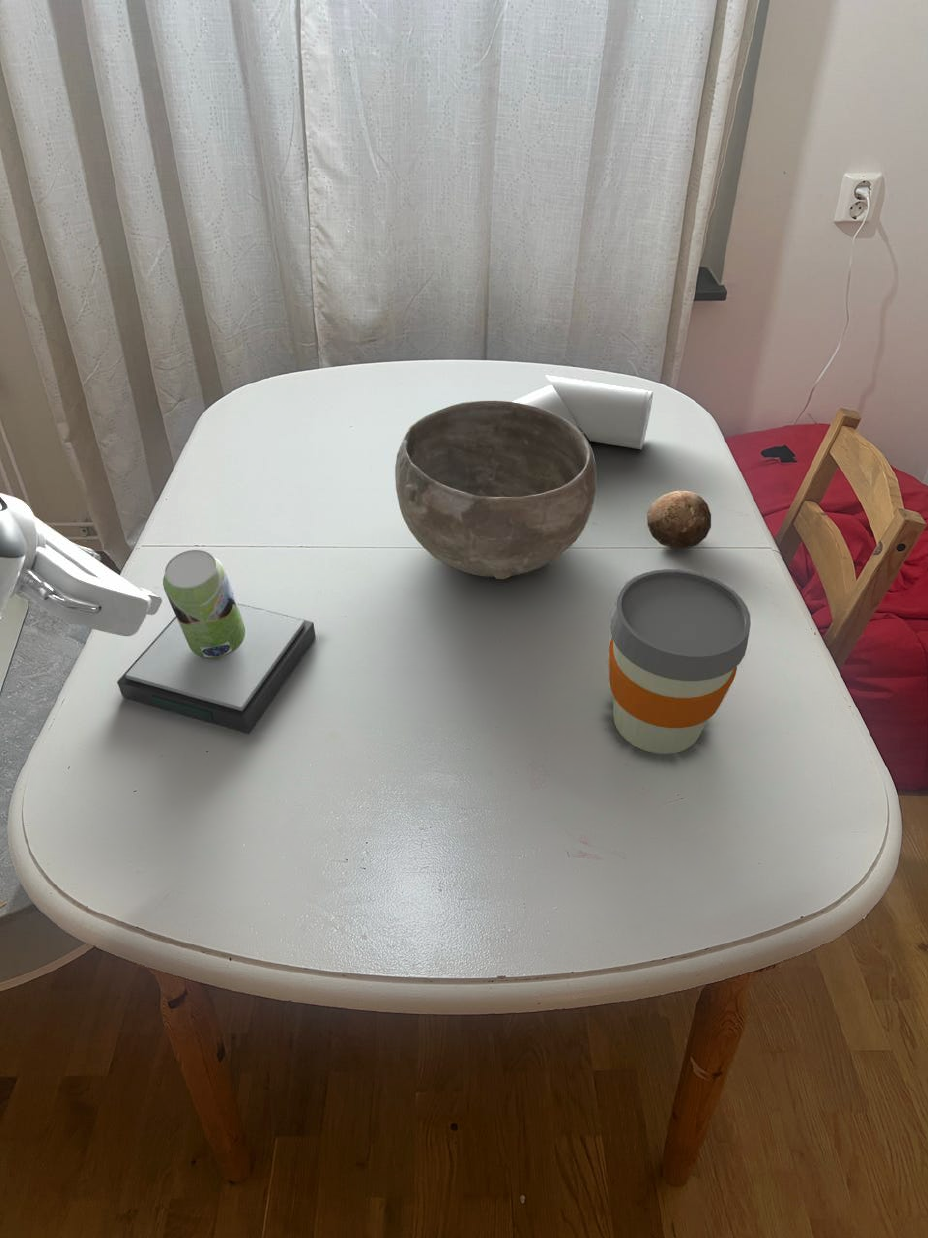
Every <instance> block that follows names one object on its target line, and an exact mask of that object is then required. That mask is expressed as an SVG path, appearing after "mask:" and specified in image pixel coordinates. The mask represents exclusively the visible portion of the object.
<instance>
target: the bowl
mask: <svg viewBox="0 0 928 1238" xmlns="http://www.w3.org/2000/svg"><path fill="white" fill-rule="evenodd" d="M395 459H396V461H395V466H394V474H395V475H394V479H395V480H394V481H395V490H396V495H397V501H398V505H399V510H400V513H401V515H402V518H403V520H404V522H405V525H406V526H407V528H408V530H409V532H410V533H411V534H412V536H413V537H414V538H415V540H416V541H417V542H418V543H419V544H420V545H421V546H422V547H423V549H425V550H426V552H428V553H429V554H430V555H431V556H433V557H434V558H435V559H437V560H438V561H440V562H442V563H443V564H445V565H446V566H449V567H450V568H452V569H456V570H459V571H461V572H464V573H467V574H470V575H473V576H479V577H491V578H493V577H494V578H495V579H498V580H506V579H508V578H510V577H512V576H517V575H518V576H519V575H522V574H527V573H529V572H533V571H535V570H539V569H540V568H543V567H545V566H546V565H548V564H550V563H553V562H554V561H555V560H556V559H558V558H559V557H560V556H561V555H562V554H563V553H564V552H565V551H566V550H568V549H569V548H570V547H571V546H572V545H573V544H574V543H575V542H576V541H577V540H578V538H579V537H580V536H581V534H582V532H583V531H584V530H585V528H586V525H587V524H588V520H589V518H590V515H591V513H592V509H593V505H594V502H595V496H596V489H597V464H596V463H597V462H596V459H595V455H594V452H593V448H592V446H591V444H590V443H589V440H588V438H587V437H586V435H585V434H584V433H581V432H580V431H579V430H578V429H577V428H576V427H575V426H574V425H572V424H571V423H570V422H568V421H567V420H565V419H563V418H562V417H560V416H558V415H556V414H554V413H552V412H550V411H547V410H543V409H540V408H537V407H533V406H530V405H525V404H521V403H516V402H513V401H506V400H474V401H465V402H460V403H457V404H453V405H450V406H447V407H445V408H441V409H439V410H436V411H434V412H432V413H430V414H427V415H425V416H423V417H422V418H420V419H418V420H417V421H415V422H414V423H413V424H411V426H410V427H409V428H408V429H407V431H406V433H405V434H404V436H403V439H402V441H401V443H400V446H399V448H398V451H397V454H396V458H395Z"/></svg>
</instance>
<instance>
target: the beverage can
mask: <svg viewBox="0 0 928 1238" xmlns="http://www.w3.org/2000/svg"><path fill="white" fill-rule="evenodd" d="M162 586H163V590H164V592H165V594H166V597H167V599H168V601H169V604H170V606H171V608H172V611H173V612H174V615H175V616H176V617H177V620H178V622H179V624H180V627H181V629H182V631H183V633H184V636H185V638H186V640H187V643H188V645H189V647H190V649H191V650H192V651H193V652H194V653H195V654H196V655H198V656H200V657H203V658H209V659H213V658H220V657H224V656H226V655H229V654H230V653H232V652H234V651H235V650H236V649H237V648H238V647H239V646H240V645H241V643H242V642H243V640H244V637H245V627H244V624H243V621H242V618H241V615H240V612H239V609H238V606H237V603H238V602H237V600H236V597H235V594H234V591H233V588H232V586H231V583H230V580H229V577H228V574H227V572H226V568H225V566H224V565H223V563H222V562H221V561H220V560H219V559H217V558H216V557H214V556H213V554H211V553H210V552H208V551H206V550H202V549H190V550H186V551H182V552H180V553H177V554H176V555H175V556H173V557H172V558H171V559H170V560H169V561H168V562H167V564H166V566H165V569H164V575H163V578H162Z"/></svg>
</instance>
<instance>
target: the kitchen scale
mask: <svg viewBox="0 0 928 1238" xmlns="http://www.w3.org/2000/svg"><path fill="white" fill-rule="evenodd" d="M236 603H237V606H238V609H239V612H240V615H241V618H242V621H243V624H244V627H245V637H244V640H243V642H242V643H241V645H240V646H239V647H238V648H237V649H236V650H235V651H234V652H232V653H230V654H229V655H226V656H224V657H220V658H213V659H209V658H203V657H200V656H198V655H196V654H195V653H194V652H193V651H192V650H191V649H190V647H189V645H188V643H187V640H186V638H185V636H184V633H183V631H182V629H181V627H180V624H179V622H178V620H177V617H176V615H175V616H174V617H173V618H172V619H171V621H170V622H169V623H168V624H167V625H166V627H164V628H163V630H162V631H161V632H160V633H159V634H158V635H157V636H156V637H155V638H154V640H153V641H152V642H151V643H150V644H149V645H148V647H147V648H145V650H144V651H143V652H142V653H141V654H140V656H138V658H137V659H136V660H135V661H134V662H133V663H132V664H131V665H130V667H128V669H127V670H126V671H125V672H124V673H123V674H122V676H120V678H119V679H118V680H117V681H116V683H117V686H118V689H119V691H120V694H121V697H122V698H123V699H126V700H130V701H134V702H137V703H140V704H144V705H148V706H151V707H154V708H158V709H161V710H164V711H168V712H171V713H175V714H178V715H183V716H186V717H188V718H192V719H196V720H199V721H202V722H206V723H209V724H214V725H216V726H220V727H224V728H228V729H230V730H234V731H238V732H241V733H245V734H248V735H249V734H251V732H252V731H253V729H254V727H255V726H256V725H257V723H258V722H259V720H260V719H261V718H262V716H263V715H264V713H265V712H266V710H267V709H268V707H269V706H270V705H271V703H273V702H272V701H273V700H274V699H275V698H276V696H277V694H278V693H279V692H280V690H281V689H282V687H283V686H284V684H285V683H286V681H288V679H289V677H290V676H291V674H292V673H293V671H294V670H295V669H296V667H297V666H298V665H299V663H300V661H301V660H302V658H303V657H304V656H305V654H306V653H307V652H308V650H309V648H310V647H311V645H312V644H313V643H314V641H315V640H316V638H317V636H316V630H315V629H316V628H315V624H314V621H312V620H306V619H304V618H303V619H302V618H298V617H294V616H291V615H287V614H283V613H278V612H275V611H271V610H266V609H262V608H259V607H254V606H250V605H246V604H242V603H238V602H236Z"/></svg>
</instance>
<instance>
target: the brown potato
mask: <svg viewBox="0 0 928 1238" xmlns="http://www.w3.org/2000/svg"><path fill="white" fill-rule="evenodd" d="M646 520H647V525H646V526H647V528H648V530H649V532H650V534H651V537H652V538H653V539H654V540H656V541H657V542H658V543H659V544H660V545H661V546H665V547H667V548H670V549H687V548H693V547H696V546H698V545H699V544H700V543H701V542H702V541H704V540H705V539H706V538H707V536H708V534H709V533H710V530H711V528H712V513H711V510H710V507H709V505H708V503H707V501H705V499H703V497H702V496H701V495H700V494H697V493H695V492H692V491H689V490H675V491H672V492H668V493H665V494H663V495H661V496H660V497H658V498H657V499H656V500H654V501H653V502H652V503H651V506H650V507H649V509H648V510H647V512H646Z"/></svg>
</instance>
